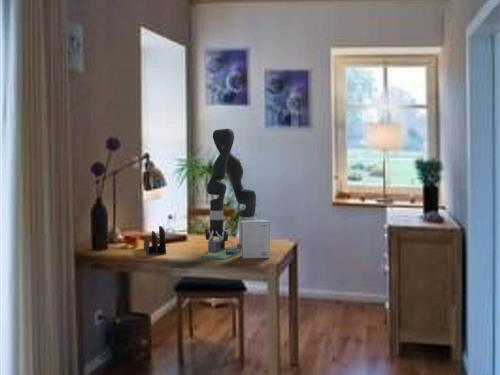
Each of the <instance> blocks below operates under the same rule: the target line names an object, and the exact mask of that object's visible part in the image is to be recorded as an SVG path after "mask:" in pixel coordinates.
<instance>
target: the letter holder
mask: <svg viewBox="0 0 500 375" xmlns="http://www.w3.org/2000/svg"><path fill="white" fill-rule="evenodd" d="M158 232H159V233H158V234H159V235H157V233H156V232H155V231H154V230H151V245H150V239H149V238H148V236H147V235H144V236H143V249H144V250H145V252H146V254H147V255H148V256H161V255H167V249H166V248H167V245H166V231H165V229H164V227H163V226H161V225H159V226H158ZM158 236H159V238H158ZM158 239H159V245H158Z"/></svg>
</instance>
